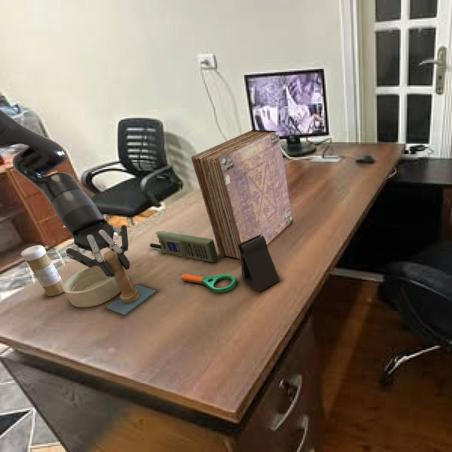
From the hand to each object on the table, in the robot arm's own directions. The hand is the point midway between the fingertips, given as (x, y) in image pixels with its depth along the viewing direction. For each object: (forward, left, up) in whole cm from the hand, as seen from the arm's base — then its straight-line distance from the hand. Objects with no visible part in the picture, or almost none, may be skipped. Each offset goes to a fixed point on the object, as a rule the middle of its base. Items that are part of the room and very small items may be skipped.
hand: (120, 271), depth 81 cm
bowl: (-1, +13, -10) cm, 17 cm away
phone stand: (+18, -25, -10) cm, 32 cm away
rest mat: (0, +2, -10) cm, 10 cm away
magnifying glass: (+12, -13, -10) cm, 20 cm away
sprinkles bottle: (-5, +26, -10) cm, 28 cm away
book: (+35, -12, -10) cm, 39 cm away
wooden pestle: (0, +2, -9) cm, 9 cm away
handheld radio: (+20, +5, -10) cm, 23 cm away
